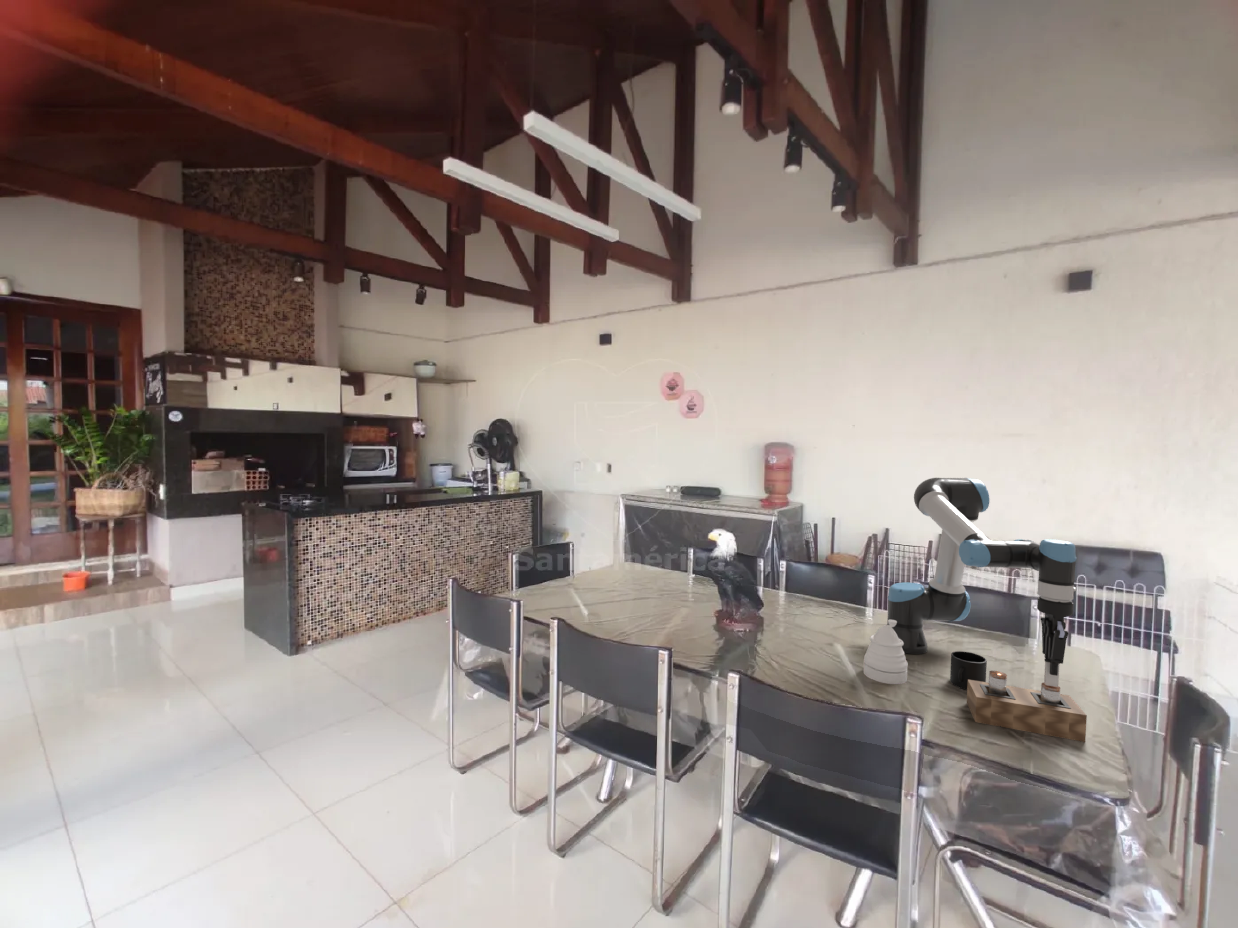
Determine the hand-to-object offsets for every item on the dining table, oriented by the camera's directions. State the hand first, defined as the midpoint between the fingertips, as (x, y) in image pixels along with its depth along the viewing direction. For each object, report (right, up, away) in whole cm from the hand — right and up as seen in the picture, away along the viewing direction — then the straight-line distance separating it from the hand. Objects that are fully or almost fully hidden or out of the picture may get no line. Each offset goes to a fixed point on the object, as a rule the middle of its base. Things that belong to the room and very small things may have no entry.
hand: (1051, 684), depth 148 cm
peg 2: (0, -7, 0) cm, 8 cm away
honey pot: (-30, -10, +31) cm, 44 cm away
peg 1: (-11, -6, +5) cm, 14 cm away
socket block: (-6, -11, +3) cm, 13 cm away
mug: (-8, -10, +24) cm, 28 cm away
